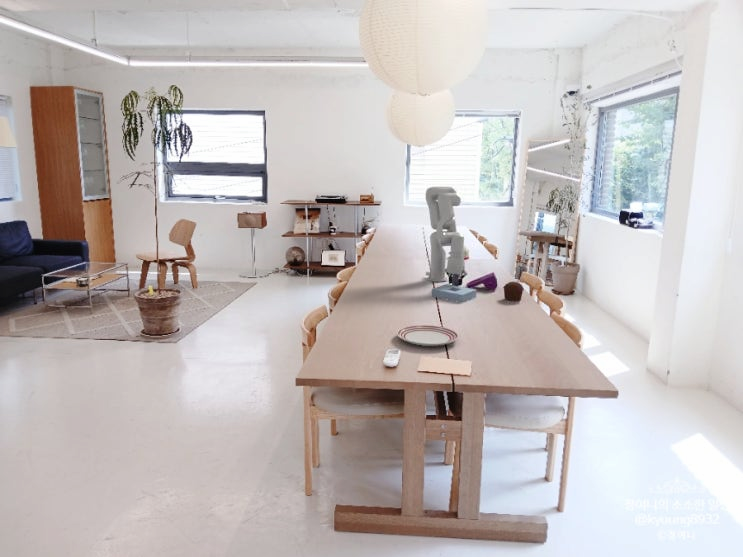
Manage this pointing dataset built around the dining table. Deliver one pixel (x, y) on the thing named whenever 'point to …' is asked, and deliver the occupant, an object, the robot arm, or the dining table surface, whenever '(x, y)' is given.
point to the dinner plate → (427, 335)
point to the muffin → (513, 291)
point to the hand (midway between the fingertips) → (455, 284)
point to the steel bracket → (455, 279)
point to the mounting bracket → (485, 282)
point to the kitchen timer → (465, 253)
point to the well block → (454, 293)
